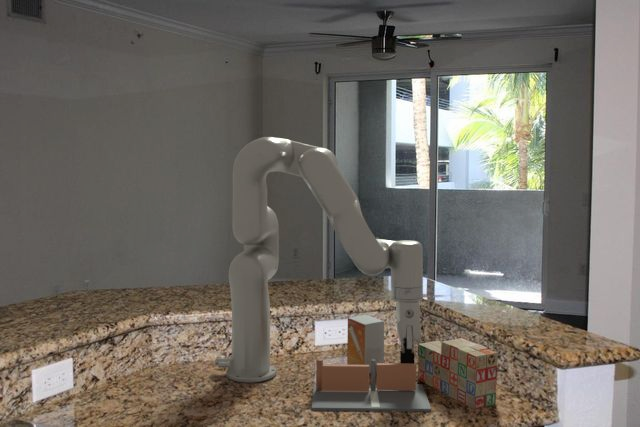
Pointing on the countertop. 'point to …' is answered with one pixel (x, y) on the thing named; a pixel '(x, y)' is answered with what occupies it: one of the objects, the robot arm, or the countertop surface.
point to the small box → (365, 341)
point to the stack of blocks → (460, 371)
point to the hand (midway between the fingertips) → (407, 367)
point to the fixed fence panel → (341, 377)
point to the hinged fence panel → (393, 376)
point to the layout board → (371, 400)
